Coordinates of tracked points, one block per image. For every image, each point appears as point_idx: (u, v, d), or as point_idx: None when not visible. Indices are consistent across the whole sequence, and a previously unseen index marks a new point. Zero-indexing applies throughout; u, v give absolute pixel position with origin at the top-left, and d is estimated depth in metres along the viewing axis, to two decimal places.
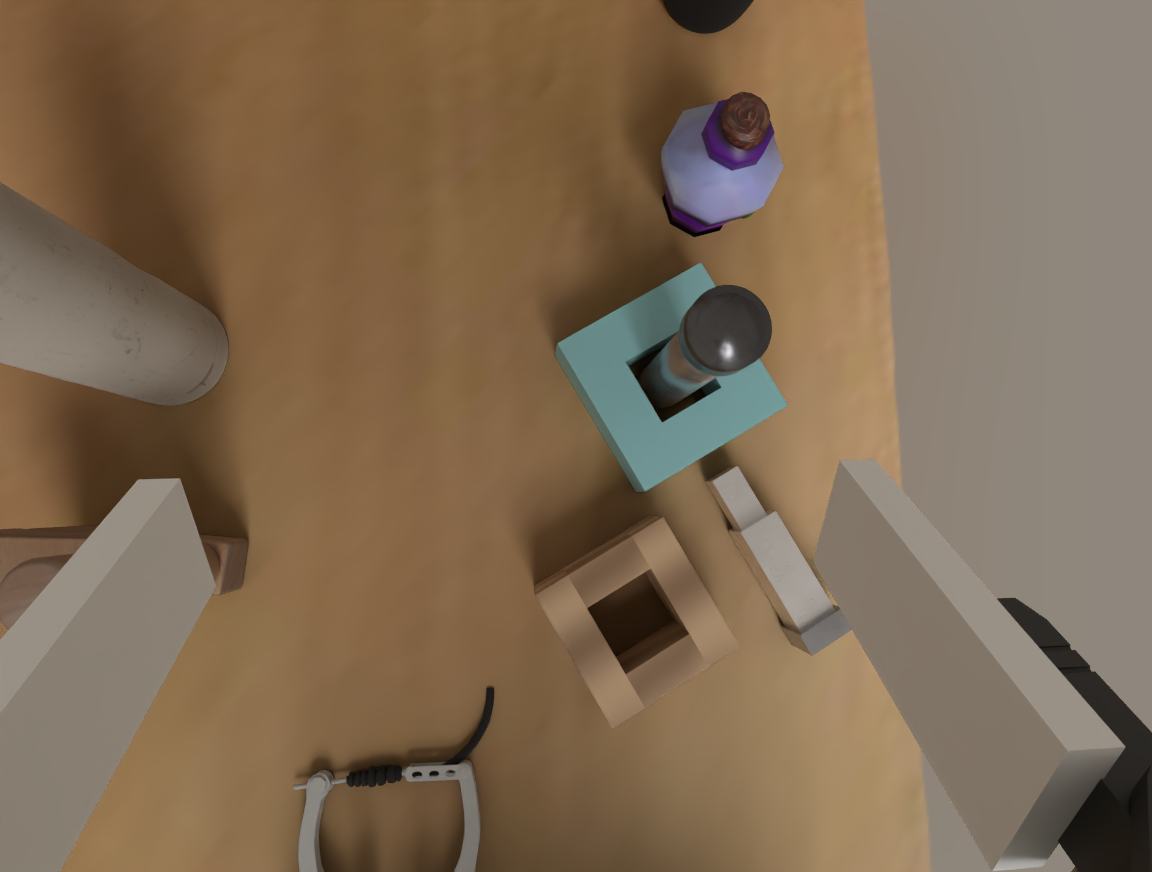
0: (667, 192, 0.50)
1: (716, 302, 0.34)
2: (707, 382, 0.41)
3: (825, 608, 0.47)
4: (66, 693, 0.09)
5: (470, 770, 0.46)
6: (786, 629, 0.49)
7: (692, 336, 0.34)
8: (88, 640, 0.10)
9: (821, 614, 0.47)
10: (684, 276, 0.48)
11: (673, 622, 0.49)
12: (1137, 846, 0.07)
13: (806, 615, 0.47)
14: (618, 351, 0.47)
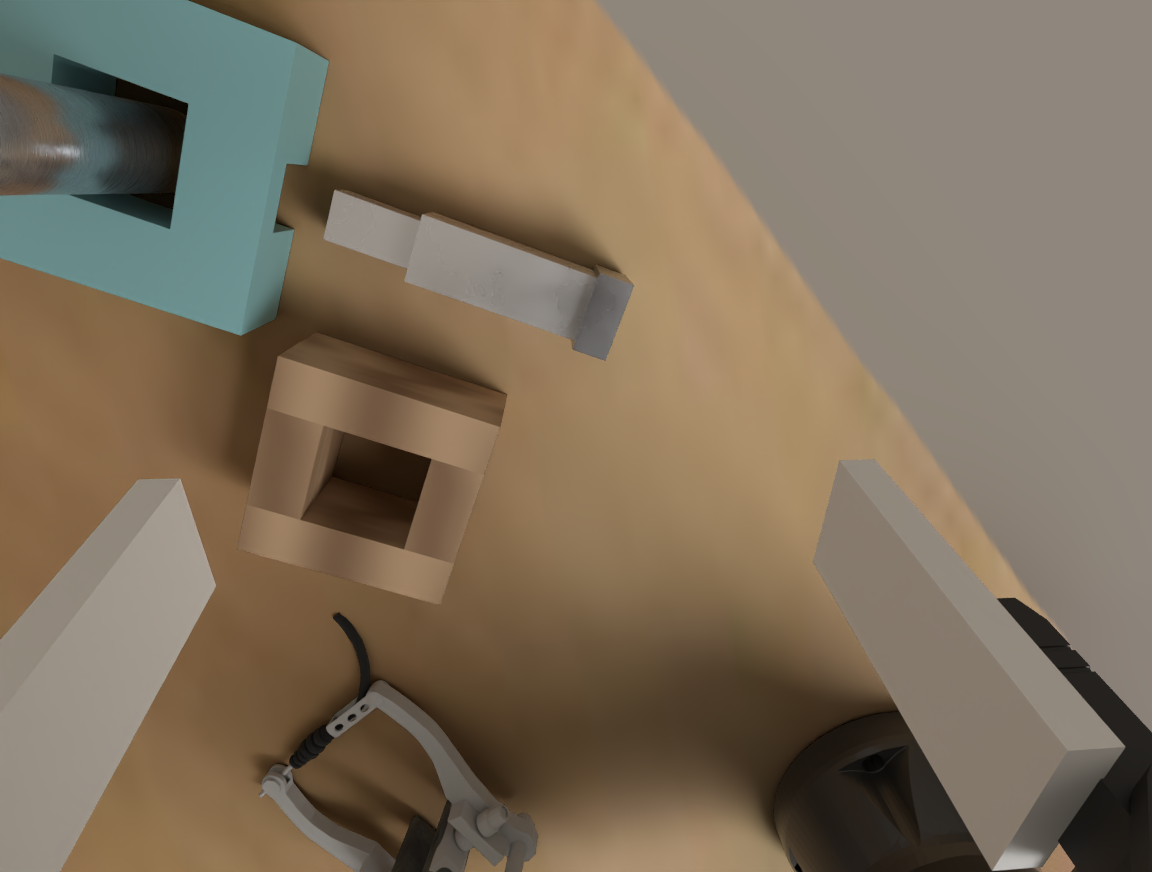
0: None
1: None
2: (51, 163, 0.21)
3: (584, 287, 0.30)
4: (66, 693, 0.09)
5: (378, 694, 0.40)
6: None
7: None
8: (89, 640, 0.10)
9: (585, 299, 0.30)
10: None
11: None
12: (1137, 846, 0.07)
13: (567, 315, 0.30)
14: None
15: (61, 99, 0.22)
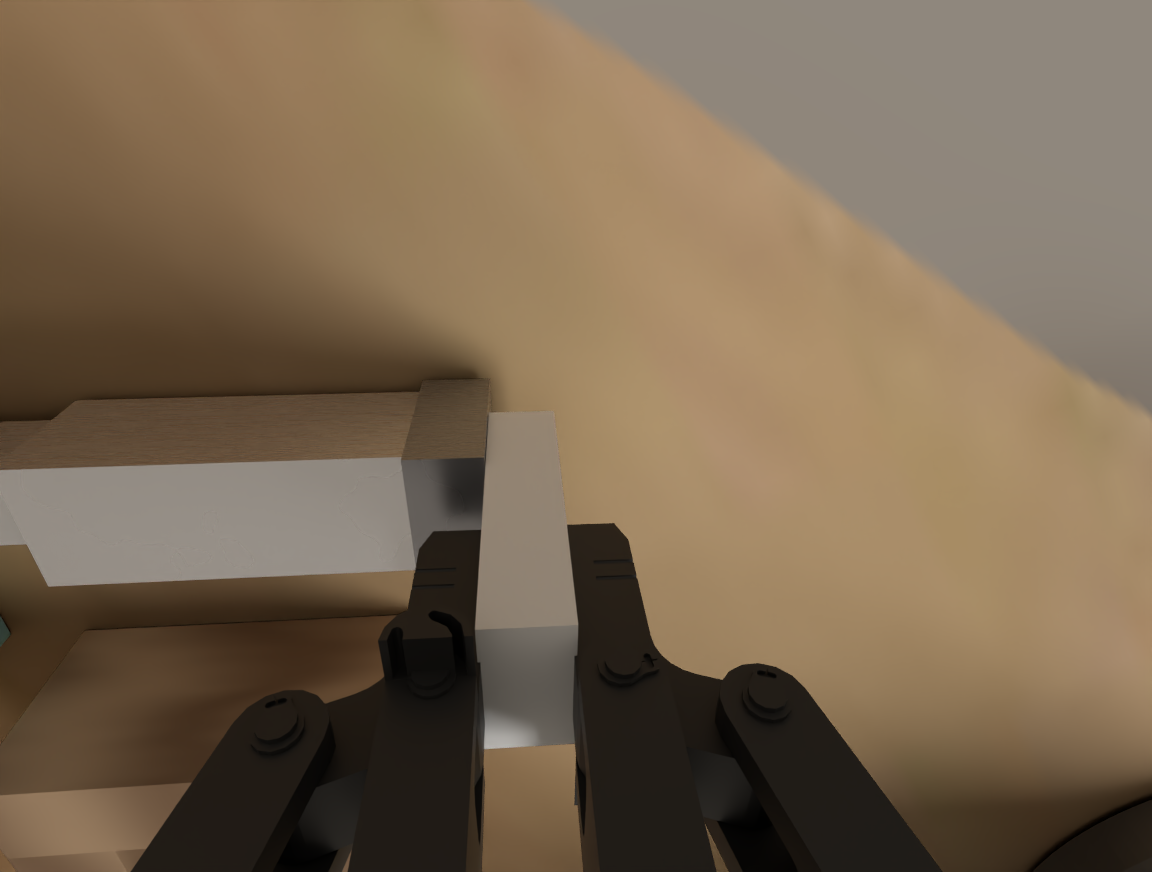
0: None
1: None
2: None
3: (391, 481, 0.14)
4: None
5: None
6: None
7: None
8: None
9: (405, 499, 0.14)
10: None
11: None
12: (584, 735, 0.09)
13: (385, 536, 0.15)
14: None
15: None
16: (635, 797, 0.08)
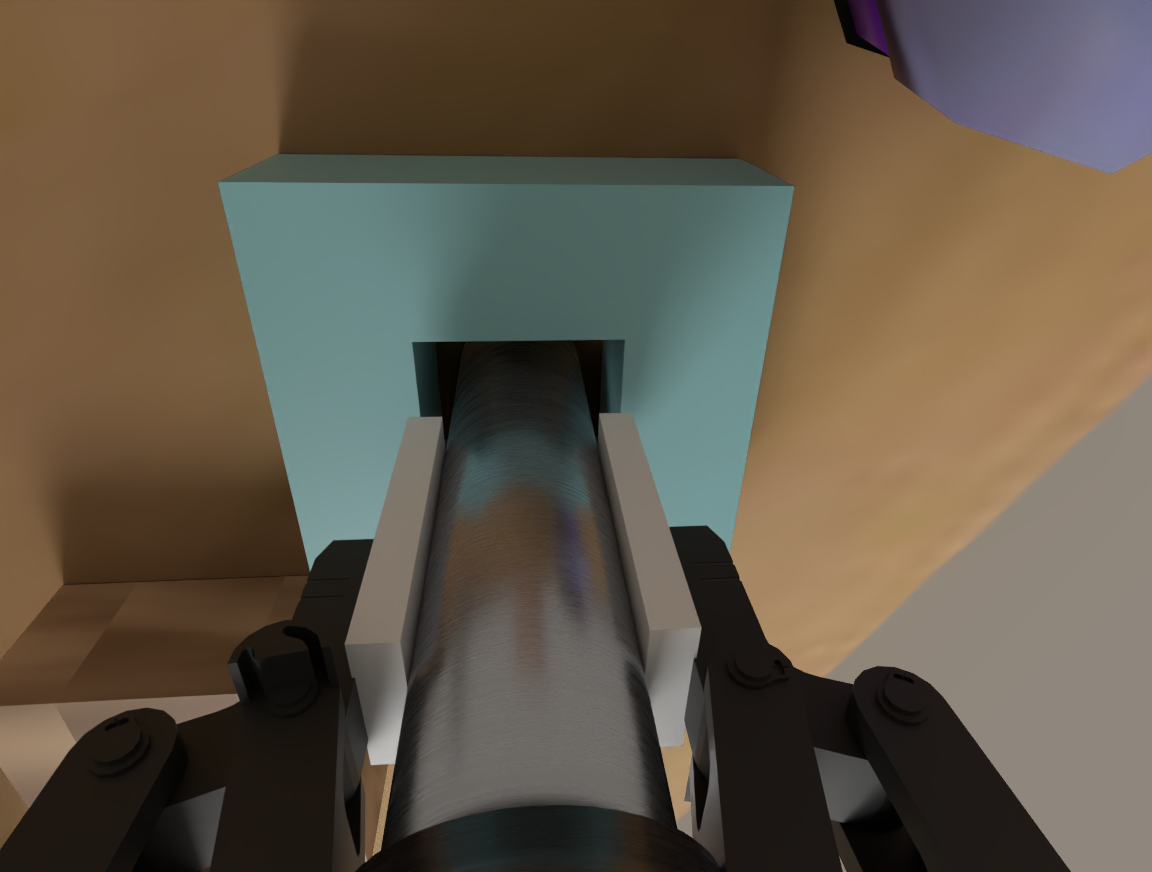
0: None
1: None
2: None
3: None
4: (423, 572, 0.12)
5: None
6: None
7: None
8: (427, 534, 0.12)
9: None
10: (720, 200, 0.14)
11: None
12: (710, 731, 0.09)
13: None
14: (408, 302, 0.15)
15: None
16: (763, 798, 0.08)
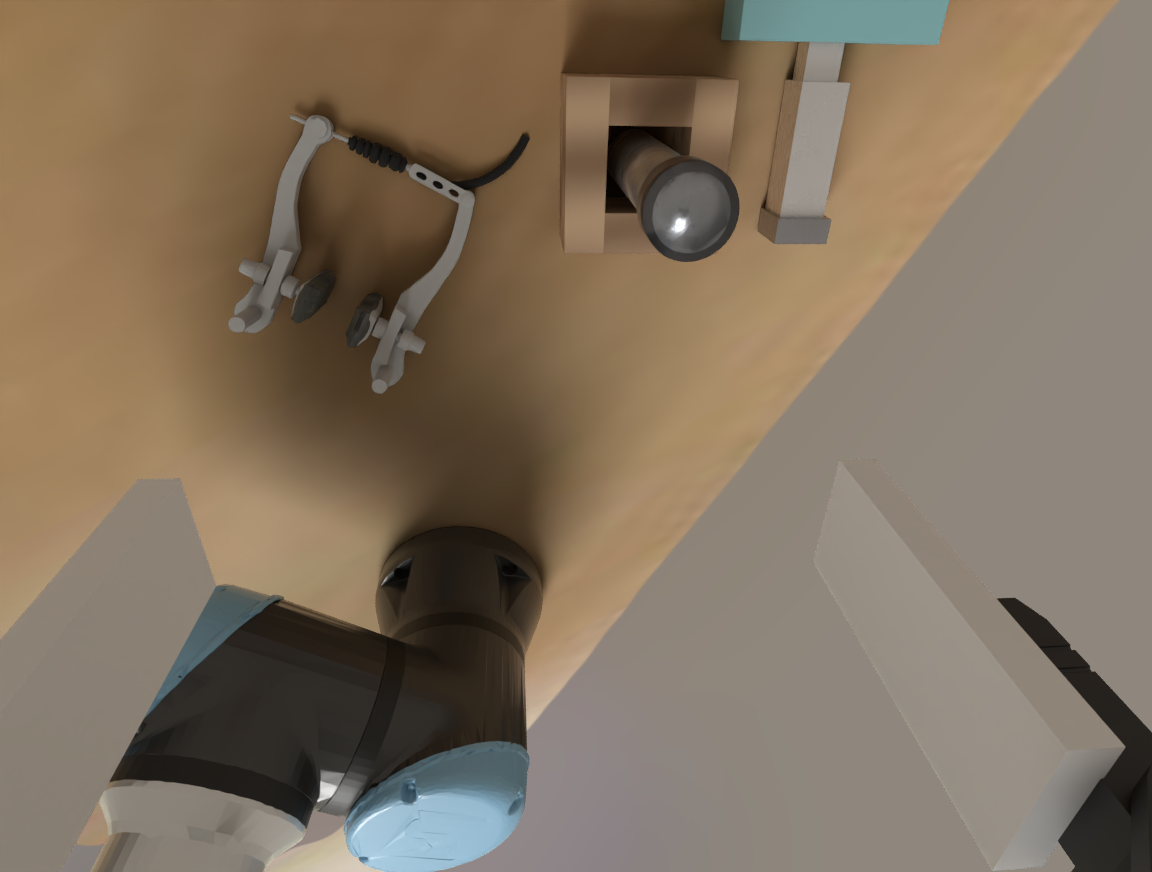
0: None
1: (696, 180, 0.30)
2: None
3: (816, 211, 0.45)
4: (66, 693, 0.09)
5: (473, 201, 0.44)
6: (765, 212, 0.46)
7: (649, 201, 0.30)
8: (89, 640, 0.10)
9: (808, 215, 0.45)
10: None
11: None
12: (1137, 846, 0.07)
13: (796, 206, 0.44)
14: None
15: None
16: None
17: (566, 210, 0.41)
